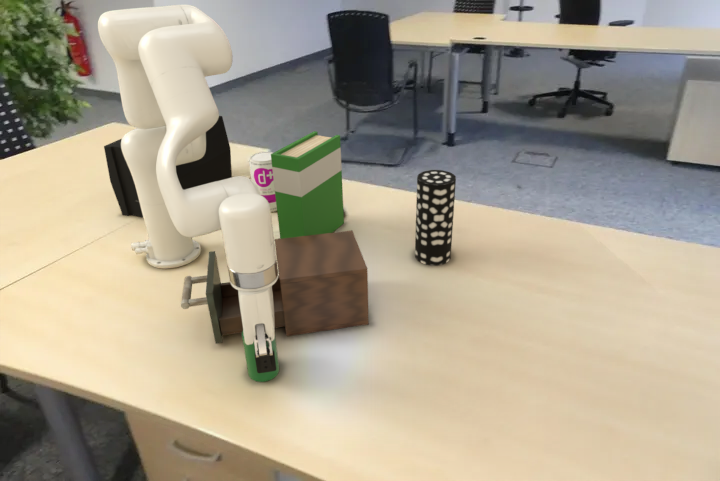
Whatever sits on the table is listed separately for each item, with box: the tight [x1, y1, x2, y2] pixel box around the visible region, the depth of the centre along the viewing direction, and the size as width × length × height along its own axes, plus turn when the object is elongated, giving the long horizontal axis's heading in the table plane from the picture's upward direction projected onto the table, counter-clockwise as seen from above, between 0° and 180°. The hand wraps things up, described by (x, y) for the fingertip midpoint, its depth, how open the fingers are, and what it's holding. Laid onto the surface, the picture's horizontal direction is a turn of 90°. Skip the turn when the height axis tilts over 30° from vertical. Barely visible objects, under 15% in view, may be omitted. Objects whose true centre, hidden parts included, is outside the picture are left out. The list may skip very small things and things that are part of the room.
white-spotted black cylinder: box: [414, 169, 457, 266], centre depth 123 cm, size 8×8×20 cm
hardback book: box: [271, 130, 345, 239], centre depth 132 cm, size 18×7×24 cm, turn 151°
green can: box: [241, 331, 280, 383], centre depth 93 cm, size 5×5×9 cm
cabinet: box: [274, 229, 370, 337], centre depth 108 cm, size 16×15×13 cm
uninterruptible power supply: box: [103, 115, 233, 219], centre depth 157 cm, size 16×34×20 cm, turn 157°
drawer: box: [180, 250, 285, 344], centre depth 106 cm, size 21×15×11 cm
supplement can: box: [248, 151, 277, 213], centre depth 149 cm, size 8×8×15 cm
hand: (266, 357), depth 94 cm, fingers closed on green can, 5 cm apart
